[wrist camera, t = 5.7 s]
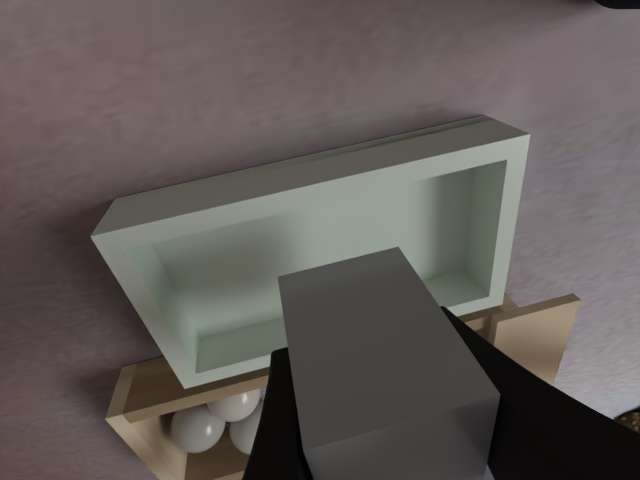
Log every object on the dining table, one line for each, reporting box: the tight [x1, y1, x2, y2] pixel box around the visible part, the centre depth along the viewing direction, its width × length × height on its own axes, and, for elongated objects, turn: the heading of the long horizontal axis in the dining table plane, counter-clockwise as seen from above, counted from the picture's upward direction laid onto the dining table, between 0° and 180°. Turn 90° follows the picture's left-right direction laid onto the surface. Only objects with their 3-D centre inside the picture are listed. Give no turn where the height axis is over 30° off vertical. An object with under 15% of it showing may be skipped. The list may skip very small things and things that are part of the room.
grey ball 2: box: [229, 400, 264, 455], centre depth 22 cm, size 3×3×3 cm
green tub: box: [90, 115, 530, 389], centre depth 16 cm, size 9×16×3 cm, turn 99°
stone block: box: [278, 247, 500, 480], centre depth 11 cm, size 4×4×6 cm
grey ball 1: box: [171, 403, 226, 453], centre depth 21 cm, size 3×3×3 cm
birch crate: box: [105, 292, 581, 480], centre depth 21 cm, size 9×24×4 cm, turn 100°
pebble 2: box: [207, 388, 261, 422], centre depth 20 cm, size 3×3×3 cm
